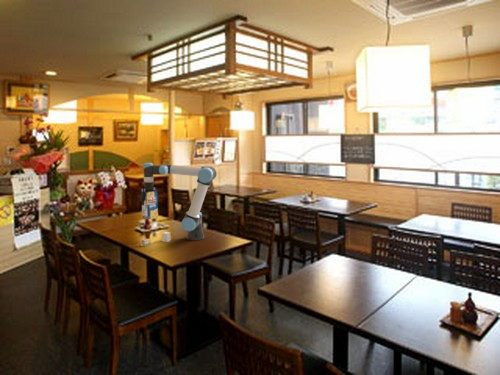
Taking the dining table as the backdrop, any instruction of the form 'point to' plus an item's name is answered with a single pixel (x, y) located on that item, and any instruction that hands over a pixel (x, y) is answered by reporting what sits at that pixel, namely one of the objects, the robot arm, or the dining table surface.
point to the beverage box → (150, 205)
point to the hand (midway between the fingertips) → (149, 208)
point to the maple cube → (145, 242)
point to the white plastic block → (166, 236)
